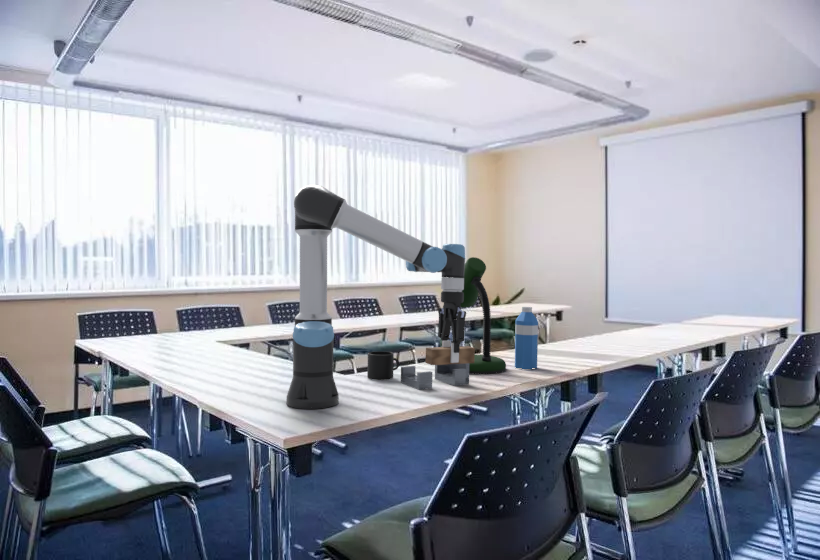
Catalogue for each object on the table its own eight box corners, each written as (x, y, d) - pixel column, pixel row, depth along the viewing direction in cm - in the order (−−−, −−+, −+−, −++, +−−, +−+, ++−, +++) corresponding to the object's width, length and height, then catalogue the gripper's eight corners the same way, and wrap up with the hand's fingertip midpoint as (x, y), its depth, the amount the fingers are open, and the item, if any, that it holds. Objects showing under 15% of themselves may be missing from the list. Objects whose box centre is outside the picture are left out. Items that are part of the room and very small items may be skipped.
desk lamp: (430, 362, 237) (432, 257, 236) (476, 360, 246) (478, 258, 245) (465, 376, 209) (467, 256, 208) (516, 372, 218) (518, 257, 217)
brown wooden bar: (431, 365, 179) (432, 349, 179) (425, 362, 183) (425, 347, 183) (474, 363, 186) (474, 348, 186) (467, 360, 190) (467, 346, 190)
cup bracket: (454, 386, 191) (455, 351, 191) (434, 379, 202) (435, 346, 202) (469, 384, 194) (469, 350, 194) (448, 377, 205) (449, 345, 205)
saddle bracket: (419, 389, 184) (419, 373, 184) (400, 382, 195) (400, 366, 195) (432, 388, 186) (432, 372, 186) (413, 381, 198) (413, 365, 198)
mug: (403, 379, 202) (404, 354, 202) (372, 381, 197) (372, 355, 197) (394, 374, 211) (394, 350, 210) (364, 376, 206) (364, 351, 206)
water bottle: (510, 366, 232) (511, 306, 231) (530, 365, 234) (531, 306, 234) (521, 370, 223) (522, 307, 222) (541, 369, 226) (543, 307, 225)
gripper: (477, 292, 178) (475, 364, 179) (447, 289, 194) (445, 356, 194) (458, 292, 175) (455, 366, 175) (428, 289, 190) (426, 357, 190)
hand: (450, 361), depth 184 cm, fingers closed on brown wooden bar, 5 cm apart
